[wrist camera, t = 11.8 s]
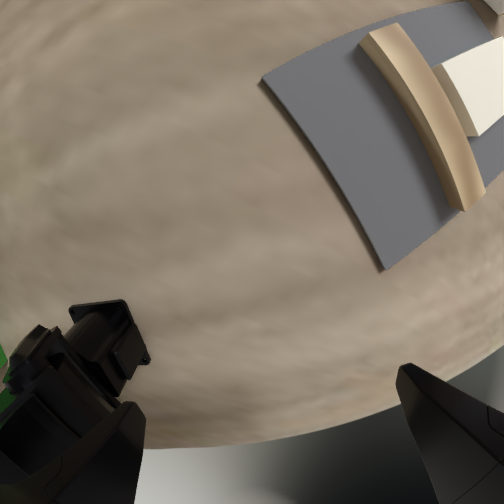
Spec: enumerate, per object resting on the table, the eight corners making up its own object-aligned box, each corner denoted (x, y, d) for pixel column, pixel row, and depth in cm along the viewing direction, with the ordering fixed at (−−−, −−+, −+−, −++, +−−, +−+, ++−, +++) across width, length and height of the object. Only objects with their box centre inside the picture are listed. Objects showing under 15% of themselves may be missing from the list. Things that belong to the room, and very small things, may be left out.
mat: (383, 268, 19) (385, 270, 19) (261, 78, 15) (261, 76, 15) (532, 133, 14) (535, 133, 14) (465, 2, 10) (467, 0, 10)
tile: (479, 136, 13) (529, 90, 11) (441, 63, 12) (502, 36, 9) (463, 136, 15) (517, 91, 13) (427, 69, 14) (490, 40, 11)
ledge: (449, 206, 17) (465, 212, 15) (358, 43, 13) (368, 32, 11) (470, 188, 16) (485, 192, 14) (385, 32, 13) (397, 22, 11)
